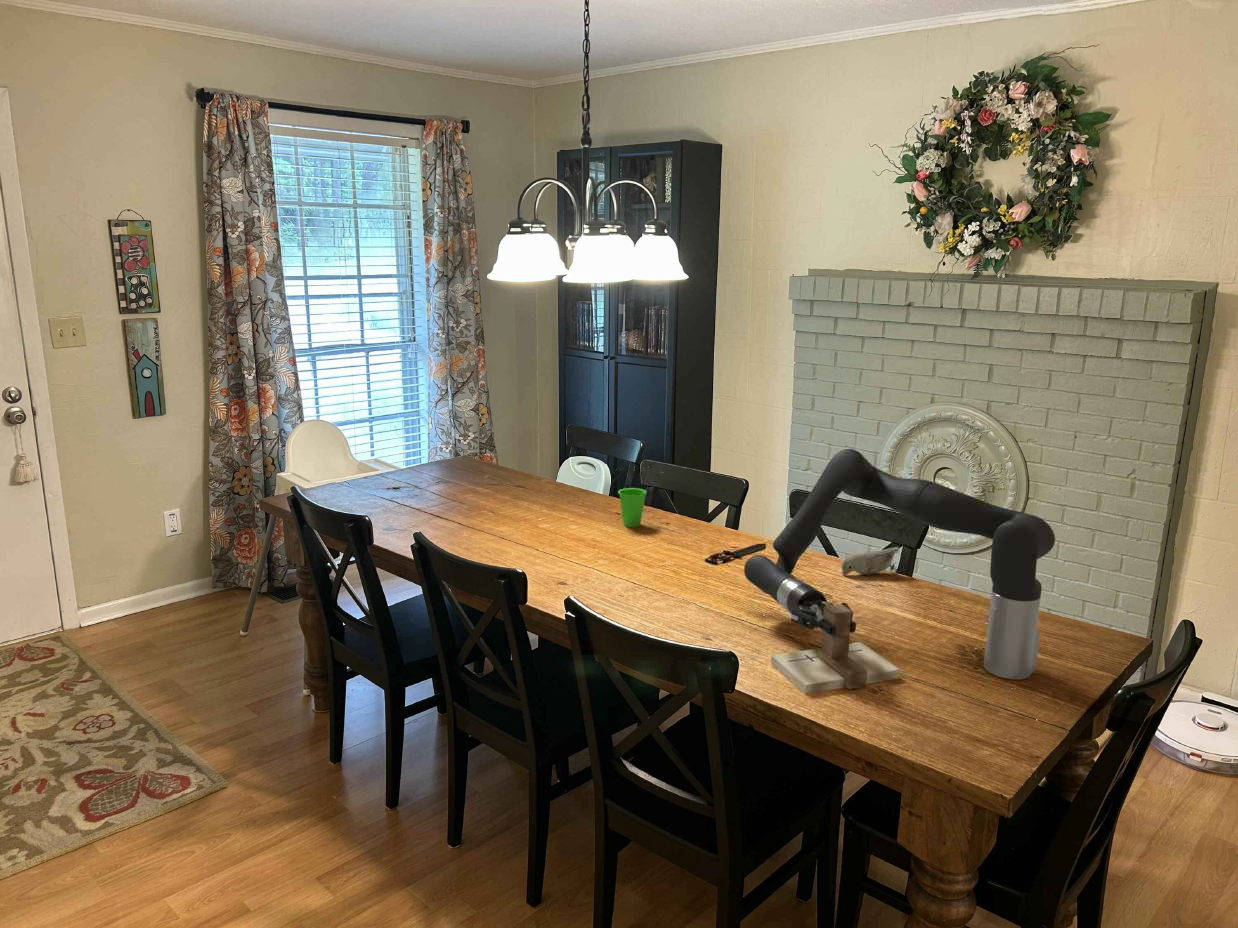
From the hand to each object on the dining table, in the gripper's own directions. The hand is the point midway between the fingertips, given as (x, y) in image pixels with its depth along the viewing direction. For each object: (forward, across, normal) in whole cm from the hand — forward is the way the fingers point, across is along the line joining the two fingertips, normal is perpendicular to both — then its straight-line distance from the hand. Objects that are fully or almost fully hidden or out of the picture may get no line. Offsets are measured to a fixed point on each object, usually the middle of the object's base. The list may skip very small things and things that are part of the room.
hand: (844, 629), depth 185 cm
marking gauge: (0, 0, +10) cm, 10 cm away
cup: (-112, -5, +11) cm, 112 cm away
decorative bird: (-50, +41, +11) cm, 66 cm away
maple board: (-3, 0, +10) cm, 11 cm away
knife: (-77, +15, +11) cm, 79 cm away
